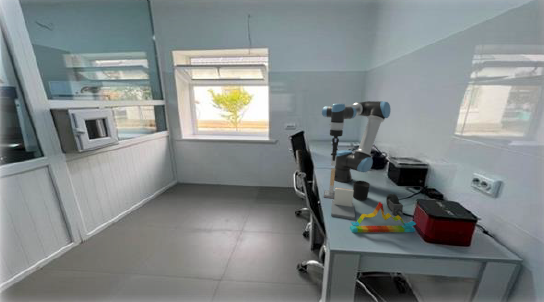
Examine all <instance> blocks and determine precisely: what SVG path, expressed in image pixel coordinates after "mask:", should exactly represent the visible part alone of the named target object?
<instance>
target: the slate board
mask: <svg viewBox="0 0 544 302" xmlns="http://www.w3.org/2000/svg"><path fill="white" fill-rule="evenodd" d="M331 200H332V199H331ZM354 207H355V206H354V203H353V202H352V207H349V206H343V205H336V204H334V199H333V200H332V201H331V212H330V216H331V217H333V218H341V219H345V220H346V219H348V220H354V221H355V220H356V213H355V208H354Z"/></svg>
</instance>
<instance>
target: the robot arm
mask: <svg viewBox="0 0 544 302" xmlns="http://www.w3.org/2000/svg"><path fill="white" fill-rule="evenodd" d="M391 110H392V109H391V105H390V103H389V102H388V101H382V100H381V101H378V100H377V101H375V100H374V101H372V100H371V101H370V100H367V101H362V102H361V101H360V102H355V103H353V104H345V103H333V104H332V105H330V106H329V105H325V106H324V107H322V109H321V115H322V117H324V118H330V123H329V126H330V127H329V128H330V130H329V135H330V136H331V137H332V139H331V142H332V152H331V153H330V156H331V160H330V161H331V162H330V166H333V167H334V169H335V177H334V182H339V183H340V182H341V183H349V182H351V181H352V180H353V179H352V177H353V176H352V173H351V172H352V171H351V170H353V171H357V172H360V173H367V172H369V171H370V170H371V168H372V166H373V163H374V161H373V158H372V154H371V152H372V148H373V146H374V144H375V140H376V138H377V135H378V132H379V130H380V126H381V124H382V123H383V122H385V120H386V119H388V118H389V117H390V115H391ZM356 116H360V117H367V124H366V126H365V129H364V131H363V134H362V137H361V141H360V143H359V146H358V149H356V150H355V151H354V153H353V151H352V150H348V149H345V150H344V149H343V150H342V149H341V150H339V149H338V146H339V142H340V139H339V137H342V136H343V132H344V131H343V129H344V125H345V124H344V123H345V122H344V121H345V120H352V119H354V118H356Z"/></svg>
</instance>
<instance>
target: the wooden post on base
mask: <svg viewBox="0 0 544 302" xmlns="http://www.w3.org/2000/svg"><path fill="white" fill-rule="evenodd" d="M334 177H335V167H334V168H331V170H330V181H329V190H328V189H324V191H325V196H329V197H334V196H335V190H334V189H335V188H334V187H335V180H334Z"/></svg>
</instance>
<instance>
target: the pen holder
mask: <svg viewBox="0 0 544 302" xmlns="http://www.w3.org/2000/svg"><path fill="white" fill-rule="evenodd" d="M352 184H353V186H352V190H354V192H353V199H355V200H358V201H366V200H368V196H369V191H370V185H371V184H370V183H369V182H368V181H365V180H356V181H353V183H352Z"/></svg>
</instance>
